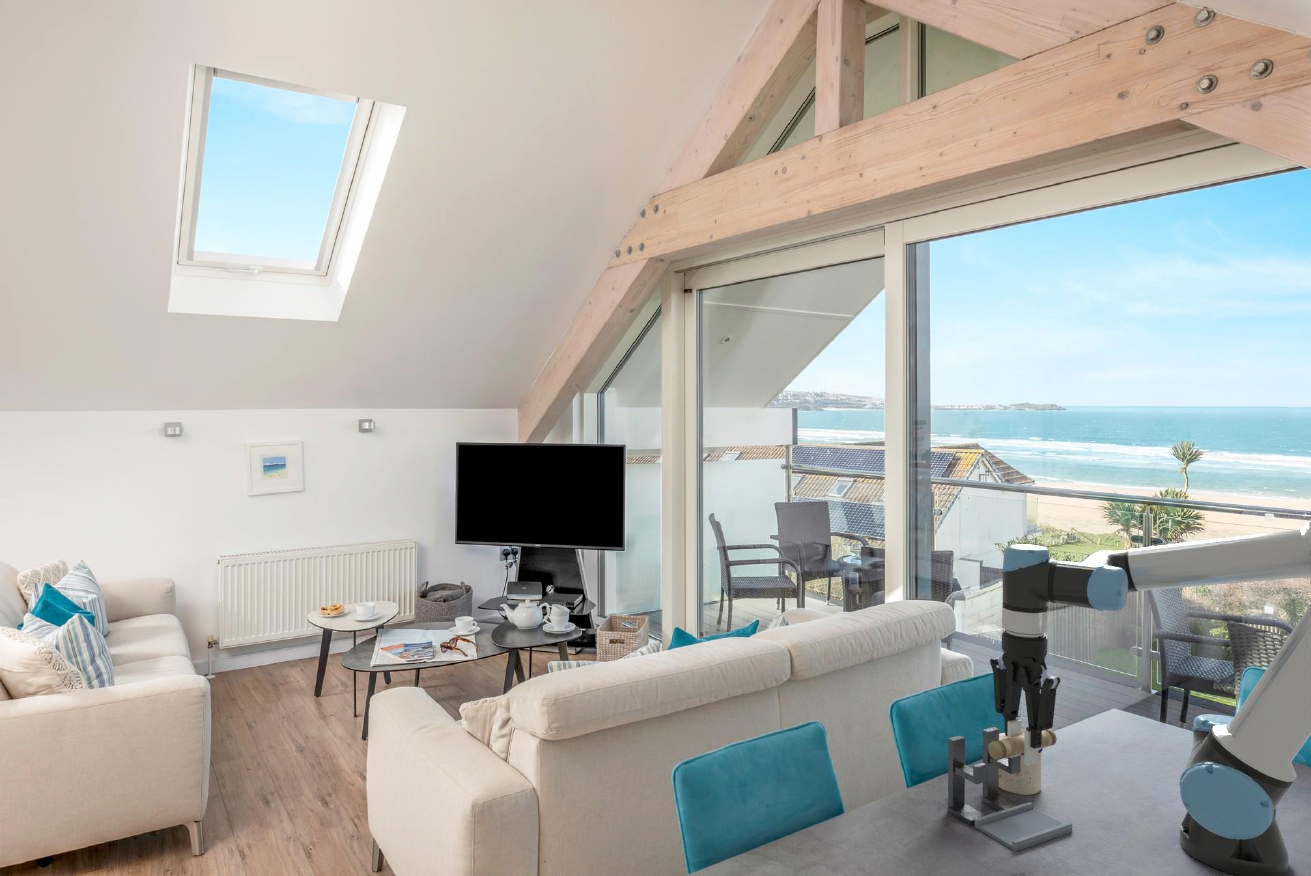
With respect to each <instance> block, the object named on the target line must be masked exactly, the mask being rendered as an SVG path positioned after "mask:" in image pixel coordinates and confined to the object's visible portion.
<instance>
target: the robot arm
mask: <svg viewBox="0 0 1311 876" xmlns="http://www.w3.org/2000/svg"><path fill="white" fill-rule="evenodd" d="M1001 572H1002V606H1001V628H1003V630H1002V631H1001V650H1002V652H1003V654H1002V655H1001V656H998V657H994V658H991V659H990V660H989V664H990V666H991V669H992V677H993V678H992V679H993V693H994V708H995V709H994V710H995V712H996V713H997V714H1000V715H1002V717H1003V720H1004V733H1005V735H1006V736H1007V738H1010V737H1014V736H1018V735H1021V729H1022V725H1023V723H1022V719H1019V718H1020V717H1021V716H1022V715H1021V714H1020V713H1019V710H1020V703H1021V697H1022V693H1023V692H1024V695H1025V696H1024V697H1025V705H1026V715H1027V716H1026V717H1027V725H1028V726H1026V727H1025V728H1024V730H1023V733H1024V765H1026V766H1030V765H1033V764H1037V763H1038V748H1040V747H1041V745H1042V740H1041V739H1042V731H1043V730H1047V729H1051V730H1052V728H1053V727H1054V726H1053V725H1054V717H1055V709H1056V708H1055V707H1056V697H1057V689H1058V688H1059V686H1060V683H1061V678H1060V676H1057V675H1055V676H1053V674H1051V673H1050V672H1049V670H1048V667H1047V664H1046V661H1045V660H1046V656H1047V655H1048V643H1049V642H1048V640H1049V639H1048V636H1047V632H1048V630H1049V629H1048V627H1049V617H1048V616H1049V614H1048V613H1049V603H1050V604H1058V605H1066V606H1072V607H1079V608H1084V609H1090V610H1091V609H1092V610H1095V611H1099V612H1103V611H1106V612H1121V611H1122V610H1124V608H1126V603H1127V600H1128V594H1129V593H1135V592H1142V591H1144V592H1145V591H1153V590H1154V591H1155V590H1167V589H1179V588H1191V587H1192V588H1193V587H1202V586H1215V585H1226V584H1239V583H1240V584H1241V583H1252V582H1264V581H1276V580H1289V579H1299V578H1311V521H1309V522H1307V523H1306V524H1305V525H1304V527H1303V528H1300V529H1296V530H1293V529H1292V530H1286V531H1279V532H1269V533H1267V532H1266V533H1261V534H1252V535H1243V536H1234V537H1225V538H1217V539H1209V540H1208V539H1207V540H1200V541H1191V542H1182V543H1181V542H1180V543H1175V544H1174V543H1173V544H1172V543H1171V544H1166V545H1157V546H1147V547H1139V548H1130V549H1123V550H1122V549H1121V550H1110V549H1102V550H1096V551H1093V552H1092V553H1090V554H1087V556H1086V557H1085V558H1084V559H1082V560H1081V561H1079V562H1076V561H1065V560H1056V559H1053V558H1052V559H1051V556H1050V551H1049V549H1048V548H1047V547H1045V546H1041V545H1035V544H1029V543H1028V544H1025V543H1024V544H1021V543H1019V544H1011V545H1008V546H1007V547H1006V548H1005V549H1004V551H1003V562H1002V569H1001ZM1309 584H1310V585H1311V580H1310V581H1309ZM1022 691H1023V692H1022ZM1191 731H1192V732H1193V734H1192V738H1193V739H1192V749H1191V752H1190V755H1189V758H1188V759H1187V763H1186V765H1185V767H1184V768H1185V769H1184V771H1183V772H1182V773H1181V776H1180V778H1179V792H1180V793H1179V794H1180V798H1181V801H1182V805H1184V808H1185V810H1186V813H1185V815H1184V817H1183V819H1182V822H1181V824H1180V827H1179V844H1180V847H1182V849H1183V850H1184V851H1185V852H1186V853H1187V854H1188V855H1190V856H1191V857H1193V858H1194V859H1195V860H1198V861H1199V862H1201V863H1203V864H1205V865H1207V866H1210V867H1211V868H1215V869H1217V870H1219V871H1222V872H1226V873H1229V874H1232V875H1236V876H1284V875H1286V874H1287V872H1288V871H1289V852H1288V849H1287V847H1286V844H1285V841H1284V838H1283V835H1282V832H1281V830H1280V827H1279V824H1278V821H1277V806H1278V804H1279V803H1280V801H1281V800H1282V799H1283V797H1284V796H1285V795H1286V793H1287V792H1288V790H1289V789H1290V787H1291V786H1292V784H1293V783H1294V782H1295V781H1296V779H1297V773H1296V771H1295V770H1296V769H1295V768H1294V765H1293V763H1292V762H1293V760H1294V759H1295V757H1297V755H1298V753H1299V751H1301V749H1302V748H1303V746H1304V745H1305V744H1306V742H1307V741H1308V740H1309V738H1310V736H1311V603H1310V604H1309V606H1308V607H1307V609H1306V610H1305V612H1304V613H1303V615H1302V616H1301V617H1300V619H1299V621H1298V622H1297V623H1296V625H1295V626H1294V628H1293V629H1292V631H1291V632H1290V633H1289V635H1288V637H1287V639H1286V640H1285V641H1284V643H1283V644H1282V646H1281V647H1280V648H1279V650H1278V652H1277V653H1276V654H1275V656H1274V658H1273V659H1272V661H1271V662H1270V663H1269V665H1268V667H1267V668H1266V670H1265V671H1264V672H1263V674H1262V676H1261V678H1260V679H1258V681H1257V683H1256V684H1255V686H1254V687H1253V689H1252V690H1251V692H1250V693H1249V694H1248V696H1247V698H1245V701H1243V703H1242V705H1241V707H1240V708H1239V709H1238V712H1237V713H1236V714H1235V715H1234V716H1231V715H1229V716H1228V715H1223V714H1212V713H1207V714H1205V713H1204V714H1200V715H1197V716H1196V717H1195V718H1194V719H1193V726H1192V728H1191ZM1020 755H1021V754H1018V755H1015V756H1011V757H1009V758H1013V757H1016V756H1020Z"/></svg>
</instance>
